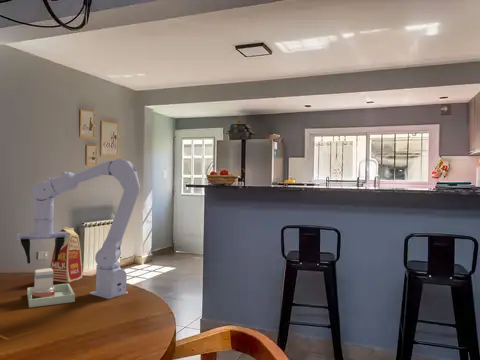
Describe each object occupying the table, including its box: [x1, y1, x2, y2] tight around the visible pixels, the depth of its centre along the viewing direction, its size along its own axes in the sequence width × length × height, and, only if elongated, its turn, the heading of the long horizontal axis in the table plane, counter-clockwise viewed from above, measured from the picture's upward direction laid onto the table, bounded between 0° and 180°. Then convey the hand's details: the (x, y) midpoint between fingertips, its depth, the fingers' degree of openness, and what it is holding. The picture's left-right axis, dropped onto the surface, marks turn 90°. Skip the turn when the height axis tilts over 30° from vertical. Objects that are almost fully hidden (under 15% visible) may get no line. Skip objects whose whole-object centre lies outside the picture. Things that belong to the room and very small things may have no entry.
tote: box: [26, 283, 76, 308], centre depth 118 cm, size 14×12×2 cm
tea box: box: [33, 267, 54, 290], centre depth 115 cm, size 5×5×5 cm
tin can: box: [32, 284, 56, 299], centre depth 115 cm, size 6×6×4 cm
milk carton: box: [49, 225, 83, 283], centre depth 142 cm, size 9×9×20 cm
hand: (42, 261), depth 122 cm, fingers open, 7 cm apart
